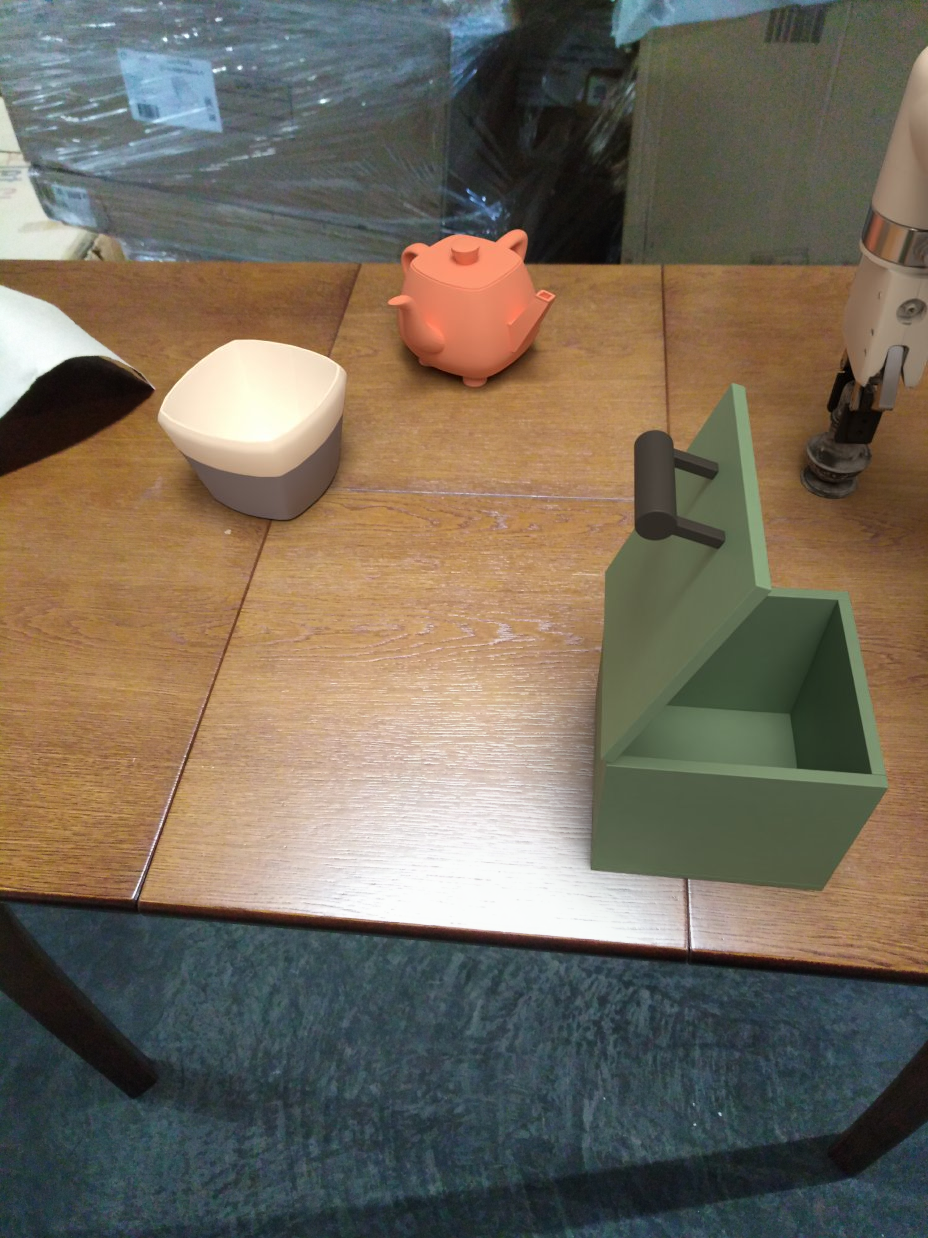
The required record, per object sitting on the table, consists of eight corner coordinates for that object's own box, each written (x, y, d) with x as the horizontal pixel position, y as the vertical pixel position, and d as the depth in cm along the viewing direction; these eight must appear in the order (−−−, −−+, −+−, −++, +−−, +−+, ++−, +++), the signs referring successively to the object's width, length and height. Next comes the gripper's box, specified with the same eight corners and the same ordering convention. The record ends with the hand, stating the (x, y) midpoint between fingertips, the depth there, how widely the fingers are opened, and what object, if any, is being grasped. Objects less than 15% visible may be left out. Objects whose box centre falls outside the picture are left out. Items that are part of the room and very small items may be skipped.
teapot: (555, 388, 98) (558, 273, 87) (402, 410, 97) (387, 296, 86) (525, 310, 108) (525, 198, 98) (386, 329, 107) (371, 218, 97)
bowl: (169, 508, 88) (131, 417, 80) (255, 418, 97) (229, 326, 88) (301, 551, 84) (276, 459, 75) (379, 452, 92) (365, 359, 84)
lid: (745, 386, 48) (654, 354, 47) (772, 590, 39) (661, 555, 38) (615, 575, 60) (542, 552, 59) (613, 763, 51) (526, 740, 50)
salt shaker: (861, 464, 88) (901, 359, 78) (860, 505, 84) (903, 399, 75) (798, 456, 89) (830, 351, 80) (795, 495, 85) (829, 390, 76)
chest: (796, 712, 70) (848, 591, 59) (822, 891, 61) (889, 787, 50) (595, 698, 72) (609, 577, 61) (590, 870, 62) (605, 765, 51)
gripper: (997, 290, 62) (908, 489, 76) (944, 180, 72) (874, 373, 86) (884, 288, 63) (817, 486, 77) (848, 179, 73) (794, 371, 87)
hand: (848, 424), depth 81 cm, fingers closed on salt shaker, 3 cm apart
